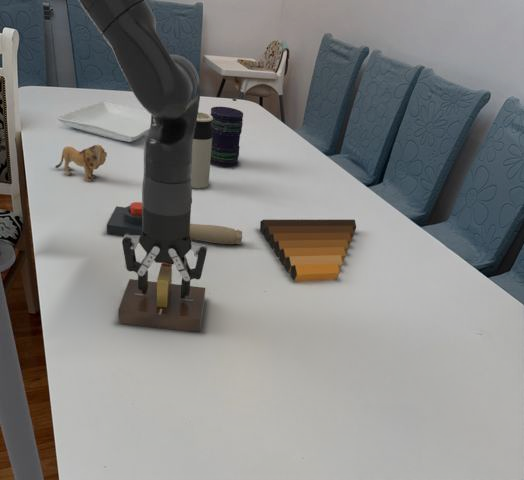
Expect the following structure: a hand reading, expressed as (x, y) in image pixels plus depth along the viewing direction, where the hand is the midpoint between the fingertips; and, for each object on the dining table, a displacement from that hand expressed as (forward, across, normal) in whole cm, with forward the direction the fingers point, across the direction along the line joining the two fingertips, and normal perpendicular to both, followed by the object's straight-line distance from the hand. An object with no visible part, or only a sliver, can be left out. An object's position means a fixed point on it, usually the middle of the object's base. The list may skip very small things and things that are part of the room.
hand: (164, 293), depth 88 cm
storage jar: (+4, +7, +84) cm, 84 cm away
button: (0, -10, +32) cm, 34 cm away
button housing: (+4, -10, +32) cm, 34 cm away
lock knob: (+1, 0, 0) cm, 1 cm away
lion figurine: (+4, -29, +58) cm, 65 cm away
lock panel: (+4, 0, 0) cm, 4 cm away
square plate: (+4, -29, +102) cm, 106 cm away
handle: (+2, +14, +30) cm, 33 cm away
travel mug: (+4, 0, +63) cm, 63 cm away
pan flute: (+4, +34, +31) cm, 46 cm away
